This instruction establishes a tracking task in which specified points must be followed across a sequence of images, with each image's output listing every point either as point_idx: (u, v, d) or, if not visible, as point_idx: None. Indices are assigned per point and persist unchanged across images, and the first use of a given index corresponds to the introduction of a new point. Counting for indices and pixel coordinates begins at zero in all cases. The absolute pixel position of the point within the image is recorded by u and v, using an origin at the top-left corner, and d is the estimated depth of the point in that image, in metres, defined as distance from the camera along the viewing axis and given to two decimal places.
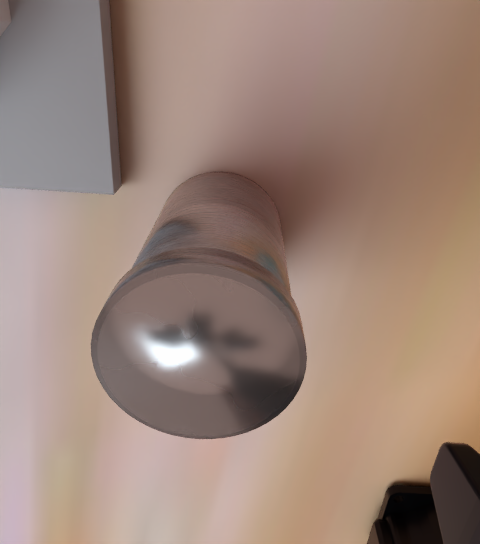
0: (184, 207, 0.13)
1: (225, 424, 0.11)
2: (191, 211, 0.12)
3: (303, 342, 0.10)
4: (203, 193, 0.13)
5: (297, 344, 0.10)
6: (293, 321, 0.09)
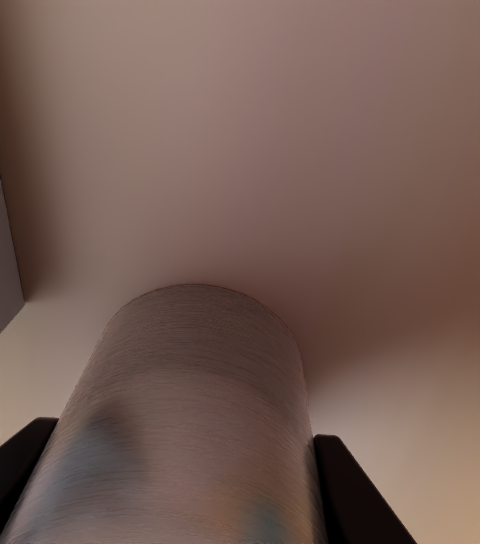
0: (108, 414, 0.06)
1: None
2: (116, 443, 0.05)
3: None
4: (156, 360, 0.07)
5: None
6: None
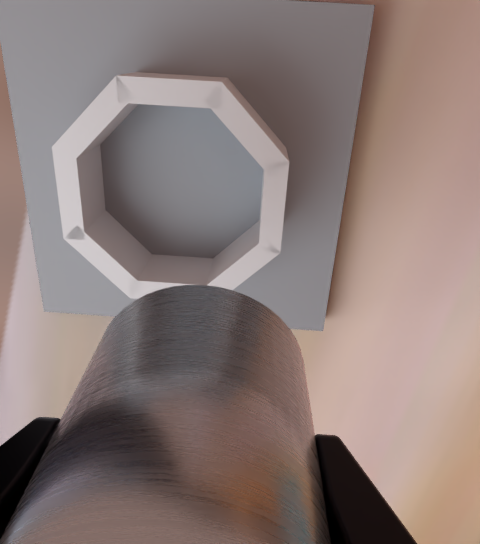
0: (109, 415, 0.06)
1: None
2: (118, 444, 0.05)
3: None
4: (158, 361, 0.07)
5: None
6: None
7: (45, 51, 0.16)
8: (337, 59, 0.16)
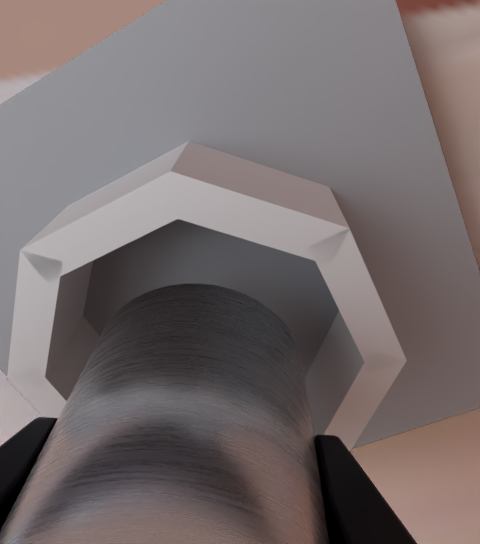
0: (107, 413, 0.06)
1: None
2: (116, 443, 0.05)
3: None
4: (157, 360, 0.07)
5: None
6: None
7: (291, 32, 0.09)
8: (449, 390, 0.13)
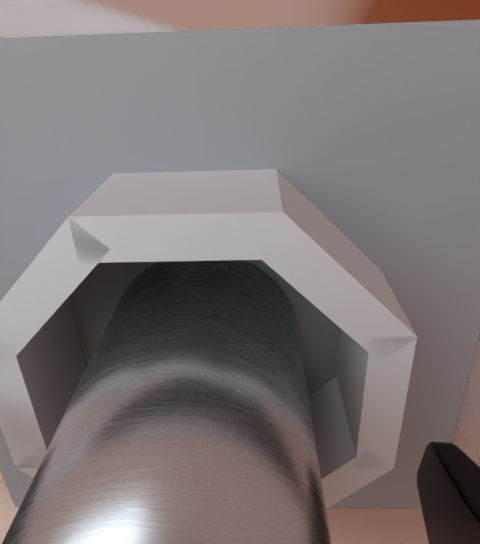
0: (135, 349, 0.07)
1: None
2: (143, 368, 0.07)
3: None
4: (172, 310, 0.08)
5: None
6: None
7: (427, 117, 0.09)
8: (382, 486, 0.13)
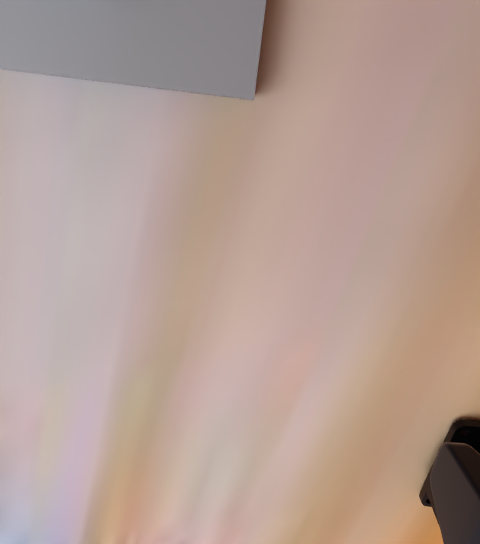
0: None
1: None
2: None
3: None
4: None
5: None
6: None
7: None
8: None
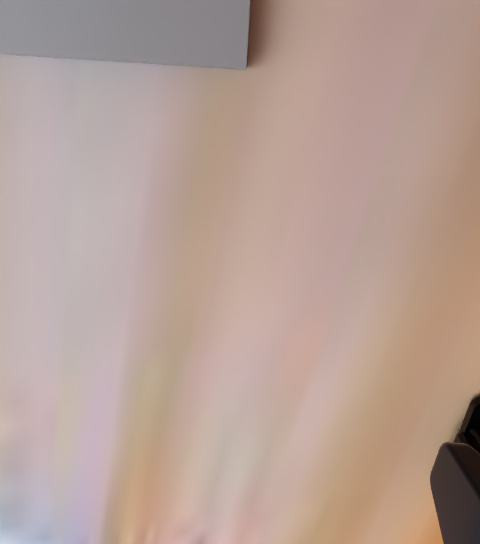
0: None
1: None
2: None
3: None
4: None
5: None
6: None
7: None
8: None
